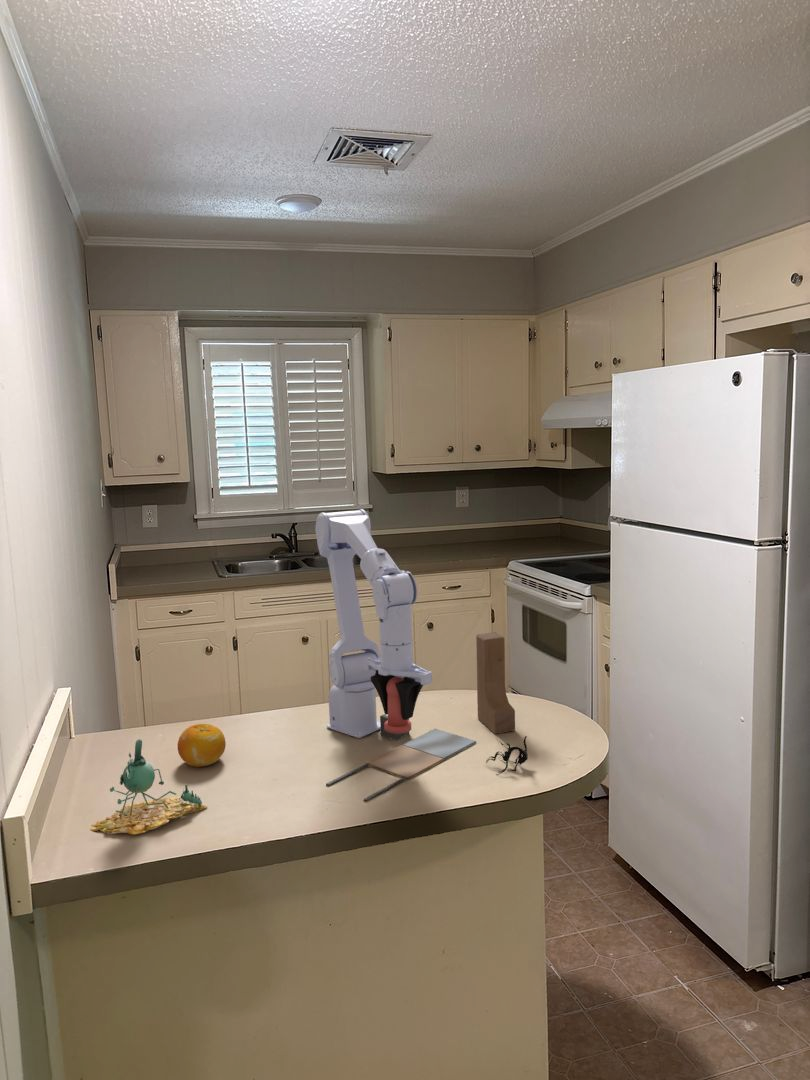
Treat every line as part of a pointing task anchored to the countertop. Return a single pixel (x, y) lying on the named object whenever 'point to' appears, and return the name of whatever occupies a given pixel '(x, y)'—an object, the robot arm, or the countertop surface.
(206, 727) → the fruit
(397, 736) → the die
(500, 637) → the wooden block
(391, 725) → the pawn
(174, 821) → the countertop surface
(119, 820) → the teal figurine on bark
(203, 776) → the countertop surface
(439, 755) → the board
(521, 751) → the creature
